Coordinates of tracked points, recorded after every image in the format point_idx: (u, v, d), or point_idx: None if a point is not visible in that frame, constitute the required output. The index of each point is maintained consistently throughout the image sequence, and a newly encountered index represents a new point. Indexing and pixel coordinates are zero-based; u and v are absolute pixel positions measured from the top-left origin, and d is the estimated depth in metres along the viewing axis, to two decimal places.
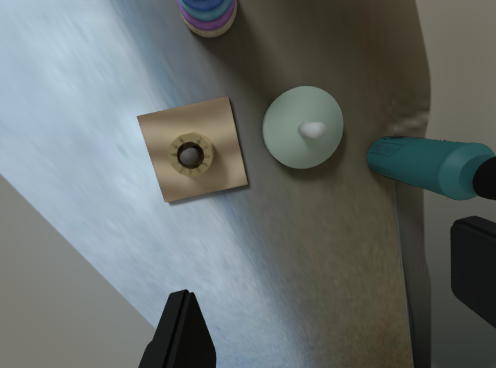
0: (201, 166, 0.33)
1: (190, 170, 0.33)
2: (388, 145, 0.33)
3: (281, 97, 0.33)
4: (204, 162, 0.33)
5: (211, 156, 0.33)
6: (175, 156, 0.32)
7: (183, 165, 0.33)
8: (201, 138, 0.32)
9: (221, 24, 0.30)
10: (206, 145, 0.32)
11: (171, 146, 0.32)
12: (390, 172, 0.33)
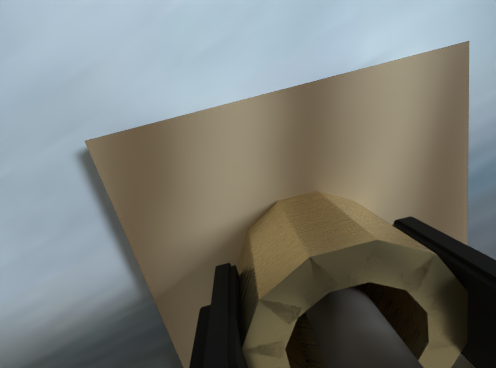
0: None
1: (278, 348, 0.06)
2: None
3: None
4: None
5: None
6: (360, 280, 0.06)
7: None
8: None
9: None
10: None
11: (419, 258, 0.06)
12: None
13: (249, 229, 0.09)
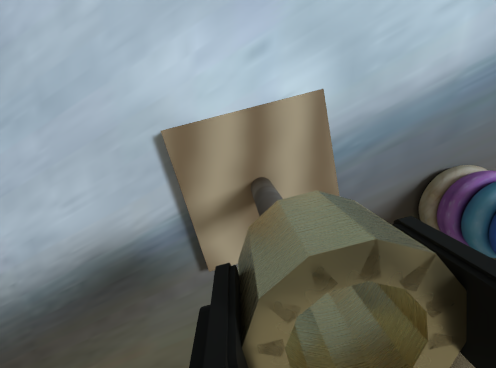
0: None
1: (278, 347, 0.06)
2: None
3: None
4: None
5: None
6: (360, 280, 0.06)
7: None
8: None
9: (447, 233, 0.21)
10: None
11: (419, 257, 0.06)
12: None
13: (249, 229, 0.09)
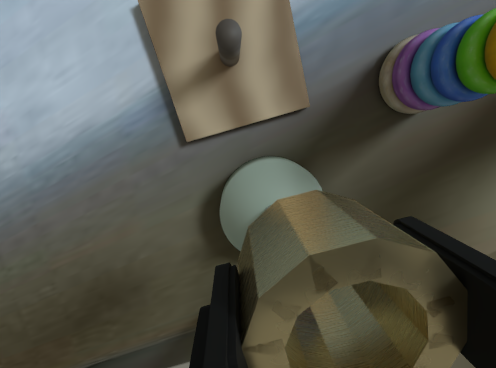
0: None
1: (278, 347, 0.06)
2: None
3: (312, 178, 0.25)
4: None
5: None
6: (360, 278, 0.06)
7: None
8: None
9: (400, 92, 0.23)
10: None
11: (419, 257, 0.06)
12: None
13: (249, 228, 0.09)
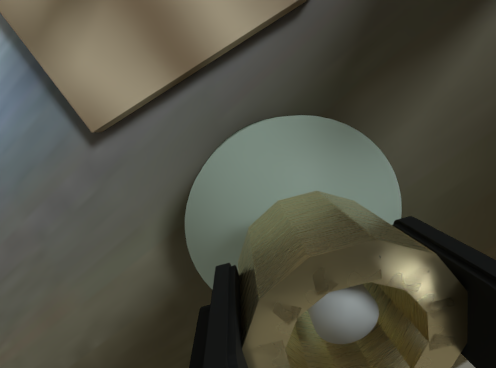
0: None
1: (278, 348, 0.06)
2: None
3: (360, 139, 0.12)
4: None
5: None
6: (360, 280, 0.06)
7: None
8: None
9: None
10: None
11: (419, 258, 0.06)
12: None
13: (249, 229, 0.09)
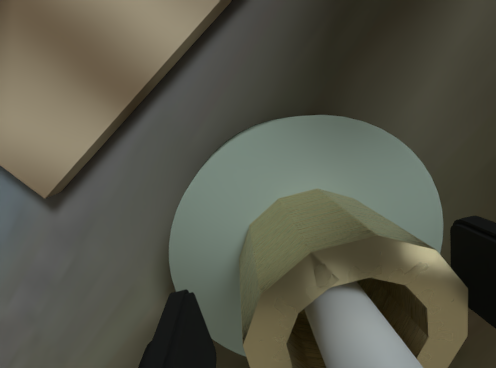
0: None
1: (279, 343, 0.06)
2: None
3: (367, 131, 0.09)
4: None
5: None
6: (360, 275, 0.06)
7: None
8: None
9: None
10: None
11: (419, 254, 0.06)
12: None
13: (250, 227, 0.09)
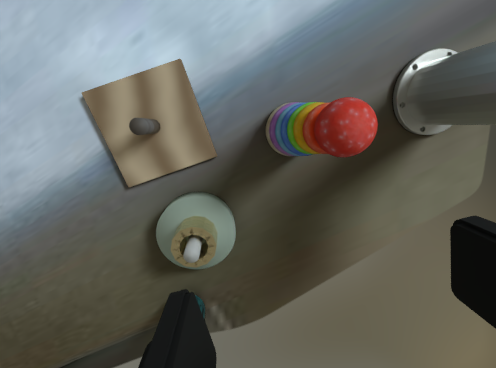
0: (179, 253, 0.31)
1: (179, 241, 0.31)
2: None
3: (222, 208, 0.35)
4: (182, 257, 0.32)
5: (185, 265, 0.32)
6: (198, 234, 0.31)
7: None
8: (205, 262, 0.32)
9: (275, 146, 0.33)
10: (197, 264, 0.32)
11: (209, 234, 0.31)
12: None
13: (184, 219, 0.34)
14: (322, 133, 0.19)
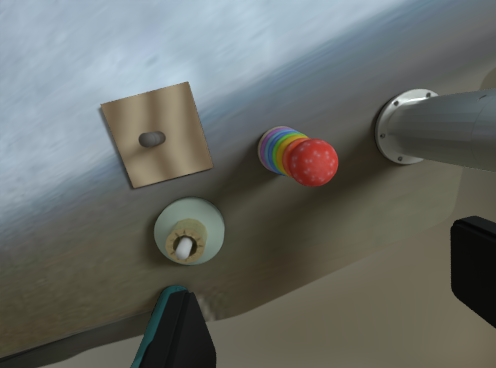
0: (172, 249, 0.36)
1: (172, 240, 0.36)
2: None
3: (213, 214, 0.39)
4: (174, 253, 0.36)
5: (176, 260, 0.37)
6: (189, 235, 0.36)
7: None
8: (194, 260, 0.37)
9: (264, 163, 0.37)
10: (187, 261, 0.37)
11: (199, 236, 0.36)
12: (156, 310, 0.39)
13: None
14: (292, 167, 0.24)
